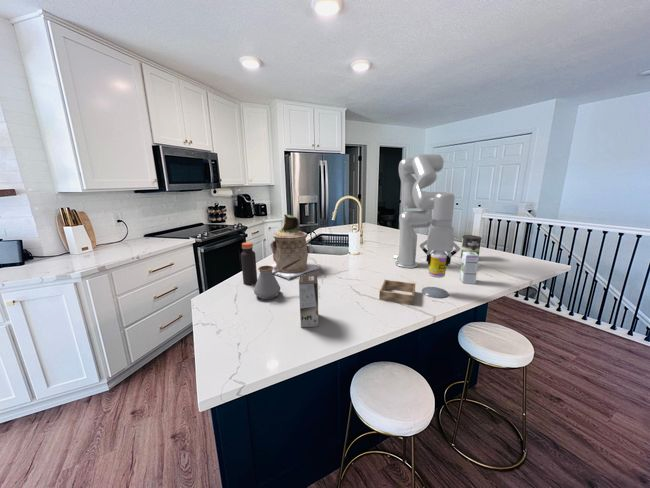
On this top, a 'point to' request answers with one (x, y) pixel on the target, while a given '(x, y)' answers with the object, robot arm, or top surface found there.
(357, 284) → the top surface
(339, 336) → the top surface
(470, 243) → the coffee can
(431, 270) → the supplement bottle
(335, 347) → the top surface
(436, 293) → the trivet
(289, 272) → the cookie jar
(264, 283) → the coffee pot
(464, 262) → the syrup box
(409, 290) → the wooden box
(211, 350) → the top surface
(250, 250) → the vinegar
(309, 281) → the coffee box
